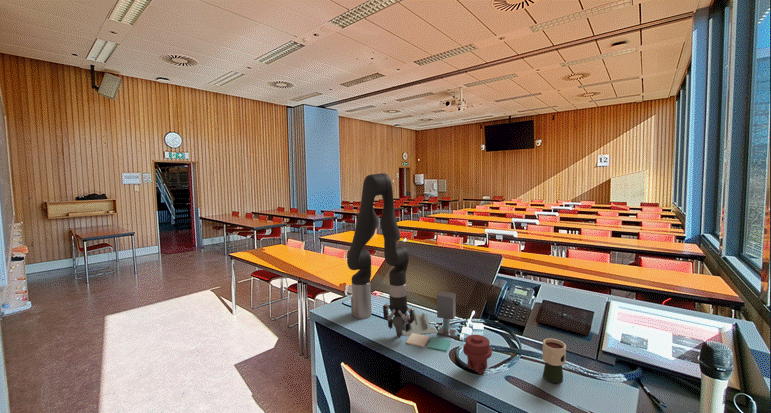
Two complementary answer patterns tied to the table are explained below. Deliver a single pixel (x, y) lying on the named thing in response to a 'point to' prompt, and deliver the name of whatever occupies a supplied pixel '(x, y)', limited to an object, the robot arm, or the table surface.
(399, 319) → the light bulb
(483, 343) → the mechanical component
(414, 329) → the metal bracket
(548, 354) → the character mug
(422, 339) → the cream pad
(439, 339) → the teal pad
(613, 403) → the table surface
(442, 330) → the control housing
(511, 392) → the table surface
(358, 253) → the robot arm
